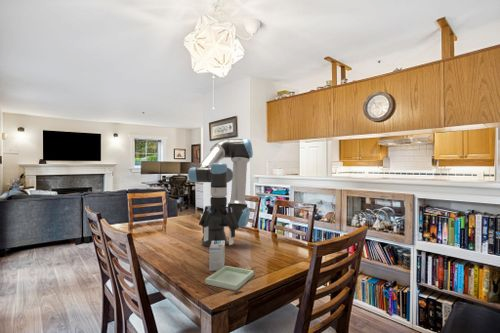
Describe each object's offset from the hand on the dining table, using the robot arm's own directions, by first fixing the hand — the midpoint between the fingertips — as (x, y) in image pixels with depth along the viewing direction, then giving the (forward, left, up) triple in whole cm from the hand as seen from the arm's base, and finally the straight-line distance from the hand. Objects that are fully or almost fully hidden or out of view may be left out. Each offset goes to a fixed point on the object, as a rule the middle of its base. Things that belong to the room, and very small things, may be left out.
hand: (218, 242), depth 127 cm
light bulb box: (-1, +1, -12) cm, 12 cm away
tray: (+12, -10, -11) cm, 19 cm away
